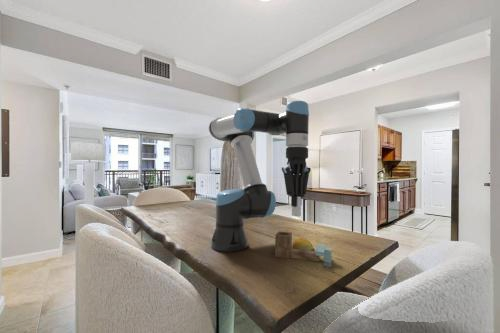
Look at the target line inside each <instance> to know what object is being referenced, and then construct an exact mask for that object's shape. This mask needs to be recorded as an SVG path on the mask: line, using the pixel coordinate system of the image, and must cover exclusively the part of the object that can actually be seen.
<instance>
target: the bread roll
mask: <svg viewBox="0 0 500 333" xmlns="http://www.w3.org/2000/svg"><path fill="white" fill-rule="evenodd" d="M292 248H293V249H300V250H308V251H313V249H314V246H313V243H312V242H311V241H310V240H309V239H307V238H304V237H298V238H296V239H294V240H292Z"/></svg>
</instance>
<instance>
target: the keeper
mask: <svg viewBox="0 0 500 333" xmlns="http://www.w3.org/2000/svg"><path fill="white" fill-rule="evenodd" d="M314 251H315V255H316V256H319V257H323V267H328V268H332V247H326V244H319V243H318V244H317V245H316V248H315V250H314Z"/></svg>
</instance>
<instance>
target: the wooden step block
mask: <svg viewBox="0 0 500 333" xmlns="http://www.w3.org/2000/svg"><path fill="white" fill-rule="evenodd" d="M274 242H275V245H274V246H275V249H274V250H275V252H274V253H275V254H274V256H275V258H281V259H288V260H289V259H290V258H291V259H292V258H293V259H297V260H298V259H299V260H306V261H312V262H313V261H314V262H320V256H316V255H315V251H316V250H312V251H308V250H300V249H293V248H292V243H293V233H292V232H287V231H277V233H276V234H275V241H274Z"/></svg>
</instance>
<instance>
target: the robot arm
mask: <svg viewBox="0 0 500 333" xmlns="http://www.w3.org/2000/svg"><path fill="white" fill-rule="evenodd" d="M309 115H310V113H309V104H308V102H306V101H303V100H293V101H290V102H287V104H286V108H285V111H284V112H281V113H277V112H276V113H275V112H269V111H262V110H256V109H250V108H242V107H240V108H237V109H236V111H235V112H234V115H230V116H227V117H216V118H214V119H212V120H211V121H210V123H209V126H208V131H209V134H210V135H211V136H212V137H213V138H214V139H215V140H218V141H221V142H229V143H230V147H231V148H233V149H234V151H235V156H236V159H237V163H238V167H239V171H240V176H241V180H242V184H243V189H242V188H232V189H225V190H222V191H220V192H218V193H217V194H216V201H215V228H214V232H213V235H212V238H211V240H210V243H211V244H210V245H211V246H210V247H211V249H213V250H215V251H218V252H224V253H230V252H233V253H234V252H239V251H243V250H245V249H246V248H248V237H247V234H246V231H245V230H246V229H245V228H244V224H245V222H244V221H245V220H251V219H264V218H267V217H271V216H272V215H273V213H275V209H276V205H277V201H276V200H277V197H276V195H275V193H274V192H273V191H271V190H268V187H267V185H266V184H265V183H263V181H262V179H261V175H260V172H259V168H258V165H257V160H256V158H255V154H254V151H253V148H252V144H253V141H254V138H255V132H257V133H265V134H269V135H270V136H280V135H283V134H285V146H286V148H285V158H286V159H287V161H286V165H285V166H283V167H281V171H282V173H283V178H284V185H285V192H286V195H287V196H288V197H290V198H291V201H290V202H291V203H290V204H291V216H293V217H298V218H300V217H302V204H303V203H302V201H303V198H304V197H305V195H307V189H308V183H309V176H310V173H311V171H312V170H311V167H308V166H307V162H306V161H307V160H306V159H309V148H308V146H309V122H310V119H309Z"/></svg>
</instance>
